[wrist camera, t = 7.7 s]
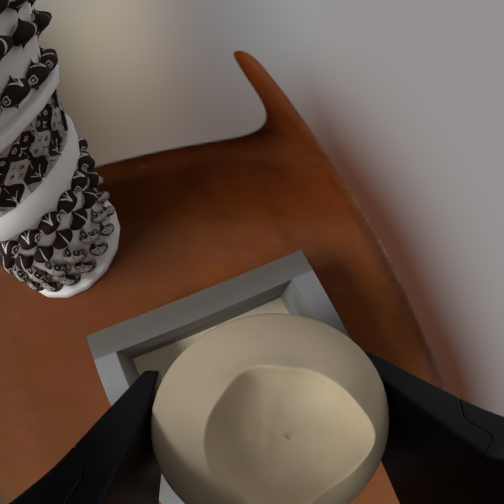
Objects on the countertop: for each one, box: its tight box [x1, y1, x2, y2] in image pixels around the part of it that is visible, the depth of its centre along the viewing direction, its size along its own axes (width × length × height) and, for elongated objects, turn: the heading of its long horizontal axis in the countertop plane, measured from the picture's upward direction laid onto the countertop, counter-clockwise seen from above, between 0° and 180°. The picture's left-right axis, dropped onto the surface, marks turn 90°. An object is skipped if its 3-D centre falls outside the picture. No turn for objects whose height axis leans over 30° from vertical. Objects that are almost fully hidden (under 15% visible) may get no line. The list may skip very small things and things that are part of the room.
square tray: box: [87, 250, 351, 504], centre depth 14 cm, size 13×13×4 cm
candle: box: [151, 313, 389, 504], centre depth 9 cm, size 6×6×10 cm
